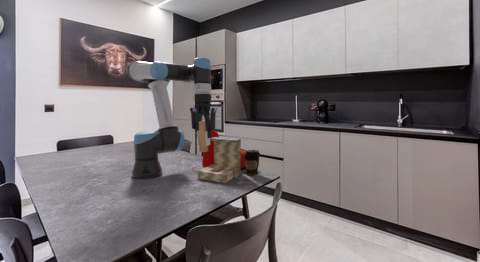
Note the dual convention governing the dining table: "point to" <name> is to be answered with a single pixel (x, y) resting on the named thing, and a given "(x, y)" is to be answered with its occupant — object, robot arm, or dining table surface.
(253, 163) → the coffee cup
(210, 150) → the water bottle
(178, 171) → the dining table surface
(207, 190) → the dining table surface
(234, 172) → the socket awning
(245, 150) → the tomato
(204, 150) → the peg
